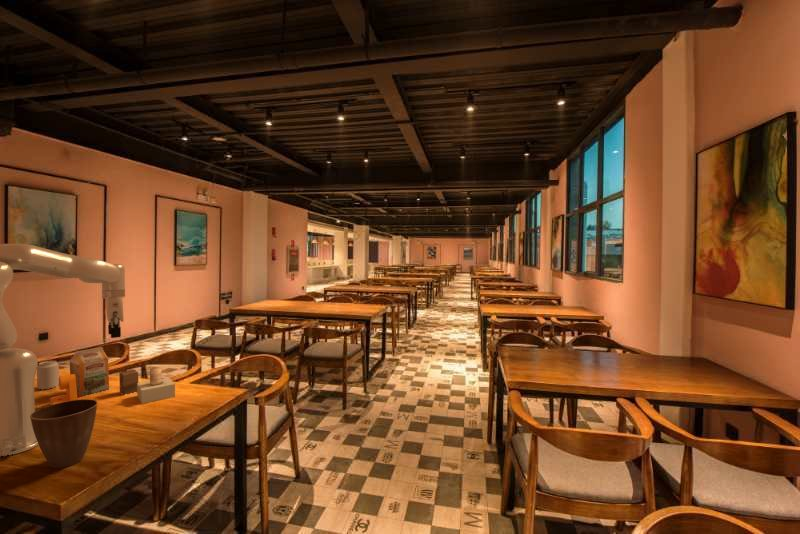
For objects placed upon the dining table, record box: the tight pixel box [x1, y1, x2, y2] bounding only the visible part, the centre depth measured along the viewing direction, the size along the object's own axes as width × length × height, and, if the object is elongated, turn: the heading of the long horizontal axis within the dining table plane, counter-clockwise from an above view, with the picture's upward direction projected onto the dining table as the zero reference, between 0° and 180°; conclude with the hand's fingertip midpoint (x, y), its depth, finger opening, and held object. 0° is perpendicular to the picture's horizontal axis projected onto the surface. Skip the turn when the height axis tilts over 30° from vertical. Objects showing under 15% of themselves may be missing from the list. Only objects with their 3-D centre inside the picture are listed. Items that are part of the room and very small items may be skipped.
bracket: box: [49, 374, 79, 405], centre depth 156 cm, size 11×7×12 cm, turn 49°
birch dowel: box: [149, 367, 162, 386], centre depth 166 cm, size 4×4×12 cm
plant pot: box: [30, 398, 98, 469], centre depth 113 cm, size 15×15×16 cm
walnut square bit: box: [118, 369, 139, 396], centre depth 171 cm, size 6×6×9 cm
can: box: [36, 360, 60, 391], centre depth 177 cm, size 8×8×12 cm
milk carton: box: [69, 346, 110, 398], centre depth 172 cm, size 11×11×19 cm
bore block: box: [136, 377, 176, 405], centre depth 166 cm, size 12×12×6 cm
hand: (114, 335), depth 158 cm, fingers open, 9 cm apart
